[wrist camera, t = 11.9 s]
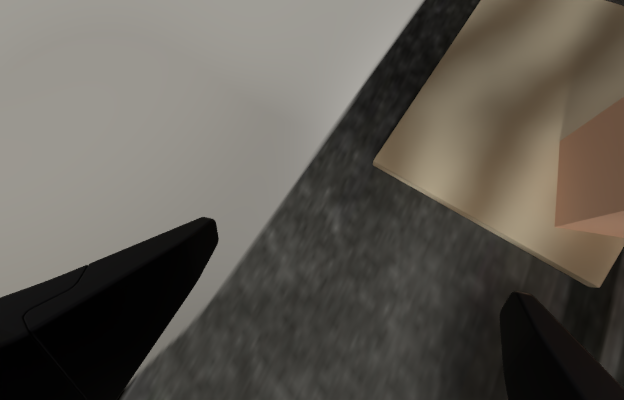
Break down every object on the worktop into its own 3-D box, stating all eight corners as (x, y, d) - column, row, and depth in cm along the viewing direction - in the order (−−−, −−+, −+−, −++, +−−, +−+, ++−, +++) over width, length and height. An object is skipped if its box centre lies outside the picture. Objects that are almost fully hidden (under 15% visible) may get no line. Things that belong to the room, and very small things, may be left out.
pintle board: (726, 52, 21) (832, -14, 16) (588, 286, 19) (658, 292, 14) (496, -20, 25) (524, -87, 20) (373, 165, 24) (372, 139, 19)
